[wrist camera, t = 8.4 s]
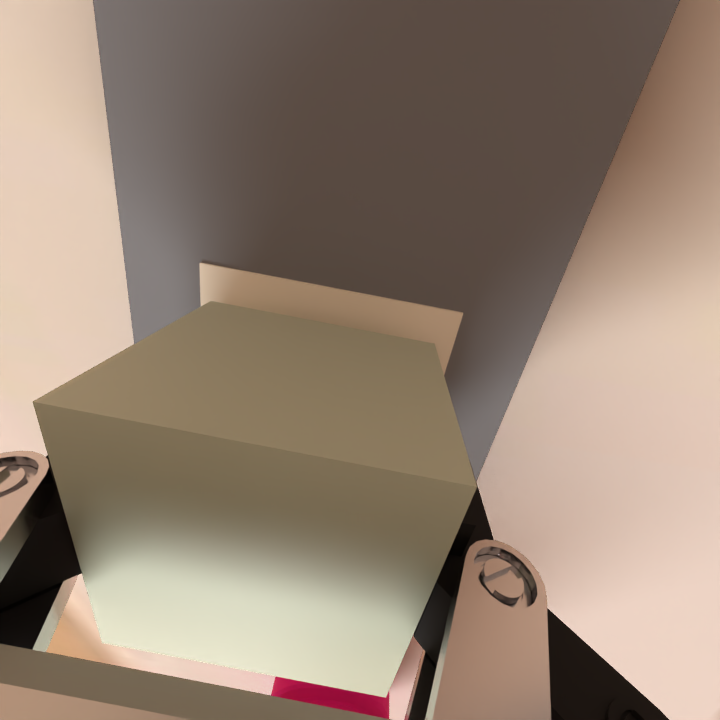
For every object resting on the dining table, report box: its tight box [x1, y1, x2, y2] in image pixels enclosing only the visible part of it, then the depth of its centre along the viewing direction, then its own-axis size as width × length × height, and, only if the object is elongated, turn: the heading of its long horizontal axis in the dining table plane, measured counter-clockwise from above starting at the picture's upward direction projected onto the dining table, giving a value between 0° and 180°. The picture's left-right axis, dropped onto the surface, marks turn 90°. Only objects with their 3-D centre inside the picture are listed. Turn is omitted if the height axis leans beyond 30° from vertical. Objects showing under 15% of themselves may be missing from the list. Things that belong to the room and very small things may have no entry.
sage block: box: [33, 301, 477, 698], centre depth 8 cm, size 6×6×5 cm
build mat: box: [93, 0, 680, 481], centre depth 8 cm, size 28×12×1 cm, turn 170°
